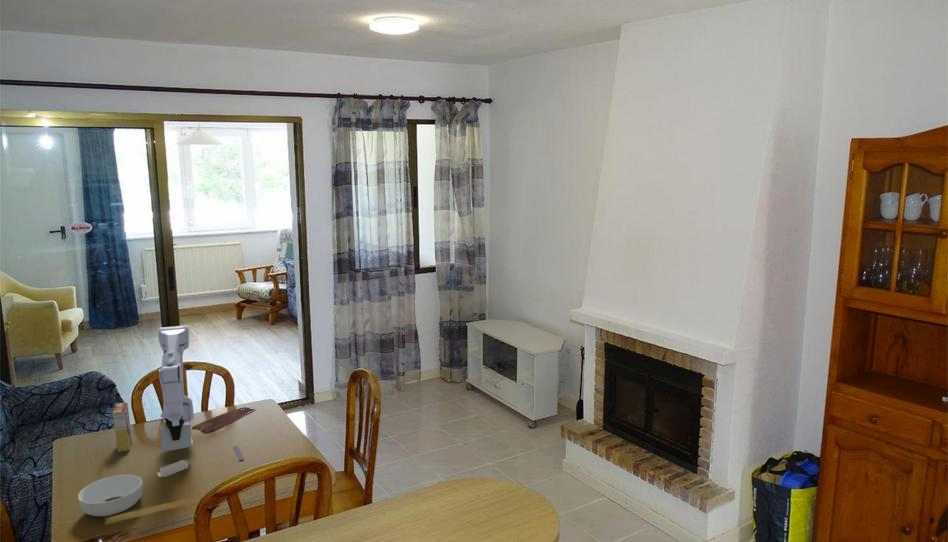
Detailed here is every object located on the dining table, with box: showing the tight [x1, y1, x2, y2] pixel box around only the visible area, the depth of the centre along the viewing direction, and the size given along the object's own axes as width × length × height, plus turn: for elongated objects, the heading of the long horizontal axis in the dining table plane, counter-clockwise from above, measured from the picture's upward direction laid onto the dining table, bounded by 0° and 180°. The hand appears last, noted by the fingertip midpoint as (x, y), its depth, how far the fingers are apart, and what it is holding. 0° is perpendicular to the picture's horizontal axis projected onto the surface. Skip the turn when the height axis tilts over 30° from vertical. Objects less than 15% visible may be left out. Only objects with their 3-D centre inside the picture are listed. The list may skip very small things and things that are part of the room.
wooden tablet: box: [191, 406, 254, 434], centre depth 259 cm, size 26×2×10 cm
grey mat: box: [232, 445, 245, 462], centre depth 226 cm, size 12×12×1 cm
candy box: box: [112, 402, 133, 453], centre depth 233 cm, size 9×4×15 cm, turn 23°
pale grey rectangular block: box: [159, 422, 192, 453], centre depth 219 cm, size 2×9×8 cm, turn 119°
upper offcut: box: [159, 459, 189, 478], centre depth 213 cm, size 3×8×2 cm, turn 142°
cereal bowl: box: [77, 474, 144, 517], centre depth 192 cm, size 17×17×7 cm
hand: (175, 438), depth 219 cm, fingers closed on pale grey rectangular block, 2 cm apart
